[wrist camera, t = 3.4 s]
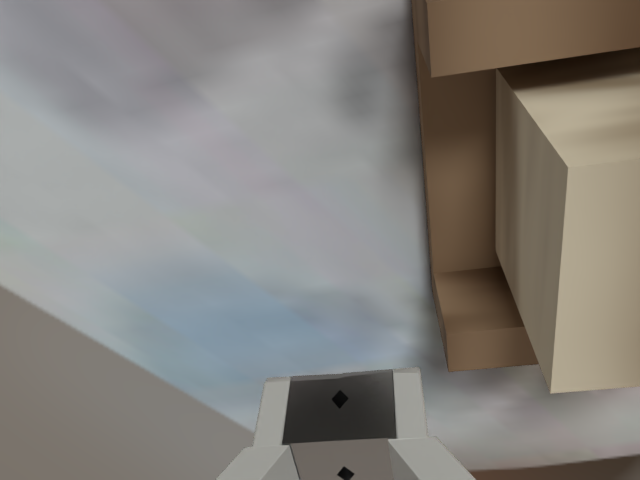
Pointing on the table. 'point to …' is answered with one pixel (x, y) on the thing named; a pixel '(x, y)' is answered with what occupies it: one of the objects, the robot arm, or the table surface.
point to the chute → (486, 149)
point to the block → (573, 213)
